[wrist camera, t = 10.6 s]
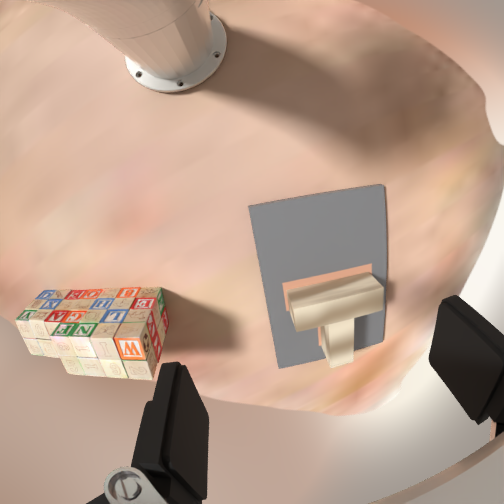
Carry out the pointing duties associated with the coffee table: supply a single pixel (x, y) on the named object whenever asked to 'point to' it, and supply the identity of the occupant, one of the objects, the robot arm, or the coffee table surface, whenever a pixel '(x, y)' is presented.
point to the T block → (335, 311)
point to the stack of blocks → (98, 330)
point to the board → (319, 259)
